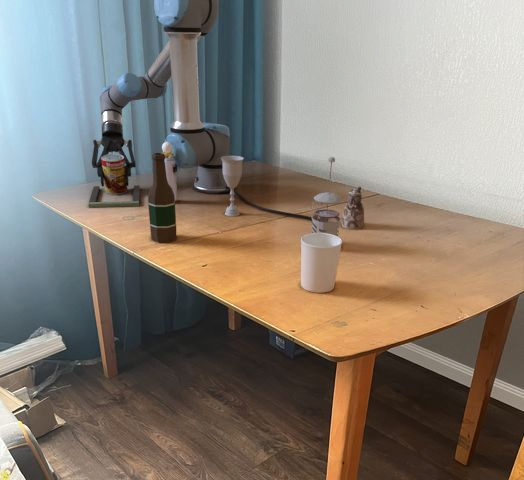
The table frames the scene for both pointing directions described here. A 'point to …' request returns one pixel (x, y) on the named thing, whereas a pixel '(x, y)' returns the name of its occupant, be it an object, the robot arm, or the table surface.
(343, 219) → the figurine
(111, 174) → the canned food
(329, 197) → the french press
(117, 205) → the tray
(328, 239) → the white cup
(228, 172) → the chalice
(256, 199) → the table surface
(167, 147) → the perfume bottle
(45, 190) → the table surface
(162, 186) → the beer bottle
